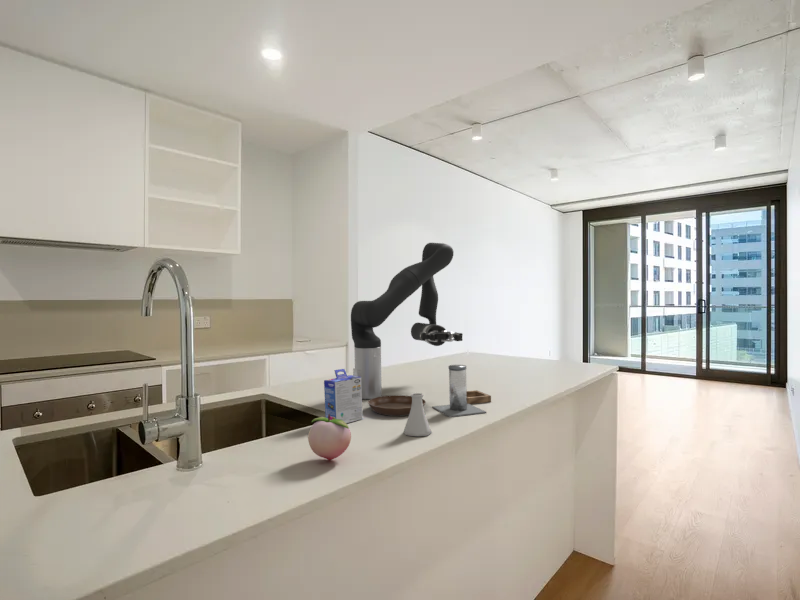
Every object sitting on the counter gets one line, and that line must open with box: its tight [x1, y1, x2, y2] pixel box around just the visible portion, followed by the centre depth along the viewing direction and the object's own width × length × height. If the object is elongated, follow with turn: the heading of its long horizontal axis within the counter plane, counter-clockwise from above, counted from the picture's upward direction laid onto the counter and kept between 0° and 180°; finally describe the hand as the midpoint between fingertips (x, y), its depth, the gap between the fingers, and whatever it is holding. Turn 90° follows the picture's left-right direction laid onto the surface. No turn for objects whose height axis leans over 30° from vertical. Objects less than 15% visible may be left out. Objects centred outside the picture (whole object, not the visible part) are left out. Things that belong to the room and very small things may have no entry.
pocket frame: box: [467, 390, 492, 405], centre depth 152 cm, size 9×9×2 cm
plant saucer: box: [367, 394, 427, 417], centre depth 141 cm, size 18×18×3 cm
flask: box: [403, 392, 433, 437], centre depth 118 cm, size 7×7×10 cm
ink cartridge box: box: [323, 368, 363, 424], centre depth 129 cm, size 10×6×14 cm, turn 137°
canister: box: [447, 364, 468, 411], centre depth 140 cm, size 5×5×13 cm
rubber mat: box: [432, 403, 487, 418], centre depth 140 cm, size 12×12×1 cm
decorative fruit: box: [307, 414, 352, 461], centre depth 99 cm, size 9×8×10 cm
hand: (446, 337), depth 153 cm, fingers open, 8 cm apart
